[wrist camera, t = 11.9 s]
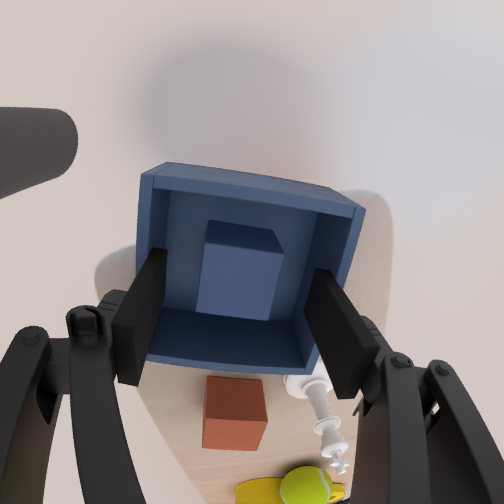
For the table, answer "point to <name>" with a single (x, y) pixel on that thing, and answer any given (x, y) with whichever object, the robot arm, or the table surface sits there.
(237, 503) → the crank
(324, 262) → the blue bin
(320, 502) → the tennis ball
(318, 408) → the chess piece
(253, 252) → the blue block
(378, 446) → the robot arm
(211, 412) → the terracotta block
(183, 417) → the table surface
